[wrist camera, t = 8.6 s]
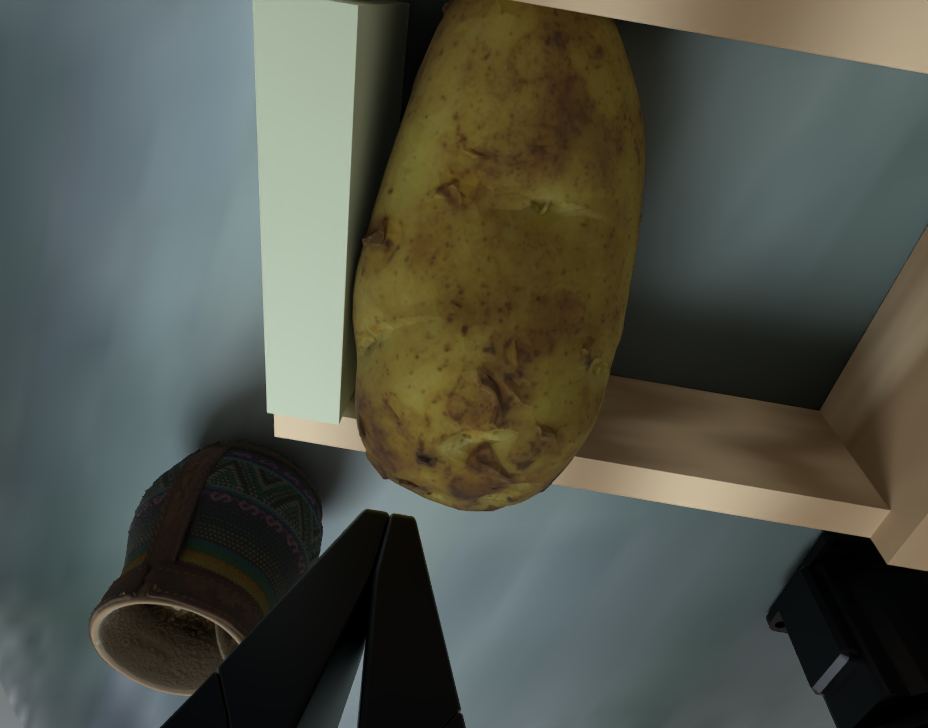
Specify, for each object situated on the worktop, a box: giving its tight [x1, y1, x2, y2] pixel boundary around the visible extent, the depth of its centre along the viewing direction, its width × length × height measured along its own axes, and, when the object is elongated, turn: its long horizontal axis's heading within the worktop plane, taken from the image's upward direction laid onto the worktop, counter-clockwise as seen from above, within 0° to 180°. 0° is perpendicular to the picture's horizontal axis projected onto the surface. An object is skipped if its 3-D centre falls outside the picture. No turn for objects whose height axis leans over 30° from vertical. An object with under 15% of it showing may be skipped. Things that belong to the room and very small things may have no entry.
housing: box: [274, 0, 928, 571], centre depth 15 cm, size 20×13×8 cm
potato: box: [352, 0, 645, 511], centre depth 15 cm, size 8×13×8 cm, turn 154°
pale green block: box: [253, 0, 410, 425], centre depth 16 cm, size 2×10×6 cm, turn 171°
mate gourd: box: [88, 440, 323, 696], centre depth 22 cm, size 7×8×10 cm
